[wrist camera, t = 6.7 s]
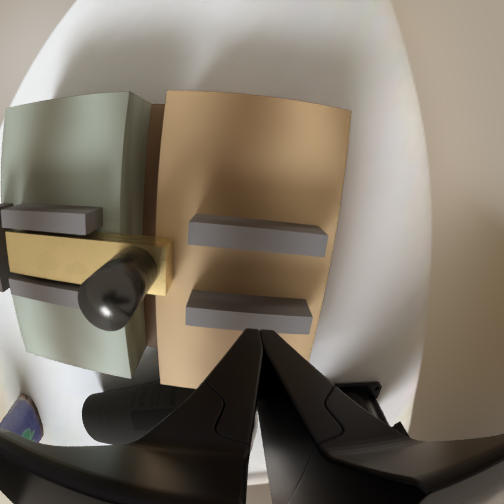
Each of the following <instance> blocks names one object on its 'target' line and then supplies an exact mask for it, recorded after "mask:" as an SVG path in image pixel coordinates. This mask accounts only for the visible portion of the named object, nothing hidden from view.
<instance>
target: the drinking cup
mask: <svg viewBox="0 0 504 504" xmlns="http://www.w3.org/2000/svg"><path fill="white" fill-rule="evenodd" d="M195 390H196V389H194V388H186V387H178V386H171V385H164V384H161V383H160V381H159V382H154V383H150V384H145V385H140V386H135V387H130V388H125V389H119V390H114V391H108V392H102V393H96V394H92V395H90V396H89V397H88V398H87V399H86V400H85V402H84V404H83V408H82V420H83V424H84V427H85V429H86V431H87V432H88V434H89V435H90V436H91V437H92V438H93V439H94V440H96V441H98V442H102V443H107V444H112V445H121V444H127V443H130V442H133V441H135V440H137V439H139V438H140V437H142V436H143V435H145V434H146V433H147V432H148V431H150V430H151V429H152V428H153V427H155V426H156V425H157V424H158V423H160V422H161V421H162V420H163V419H165V418H166V417H167V416H168V415H169V414H171V413H172V412H173V411H174V410H176V409H177V408H178V407H179V406H180V405H181V404H182V403H183V402H184V401H186V400H187V399H188V398H189V396H190V395H191V394H192V393H193V392H194V391H195ZM257 411H258V408H257V405H256V413H255V420H254V427H253V434H252V442H251V448H250V452H251V450H252V446H253V441H254V439H255V436H256V432H257V425H258V416H257Z"/></svg>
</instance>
